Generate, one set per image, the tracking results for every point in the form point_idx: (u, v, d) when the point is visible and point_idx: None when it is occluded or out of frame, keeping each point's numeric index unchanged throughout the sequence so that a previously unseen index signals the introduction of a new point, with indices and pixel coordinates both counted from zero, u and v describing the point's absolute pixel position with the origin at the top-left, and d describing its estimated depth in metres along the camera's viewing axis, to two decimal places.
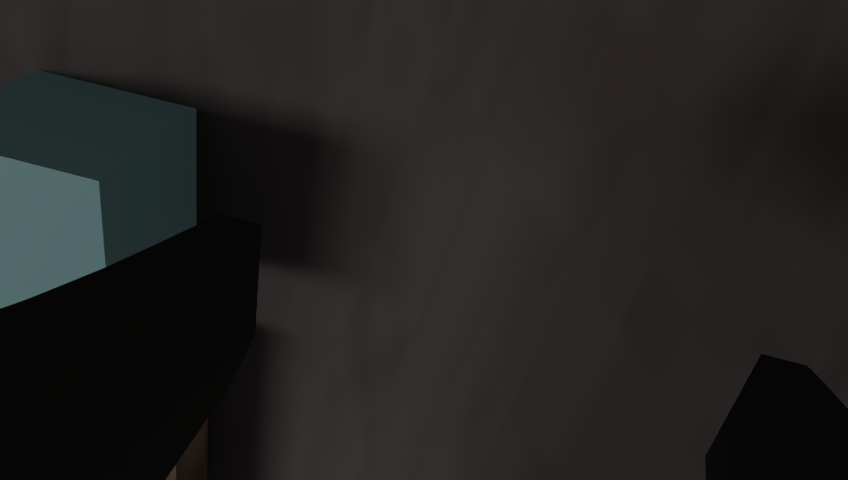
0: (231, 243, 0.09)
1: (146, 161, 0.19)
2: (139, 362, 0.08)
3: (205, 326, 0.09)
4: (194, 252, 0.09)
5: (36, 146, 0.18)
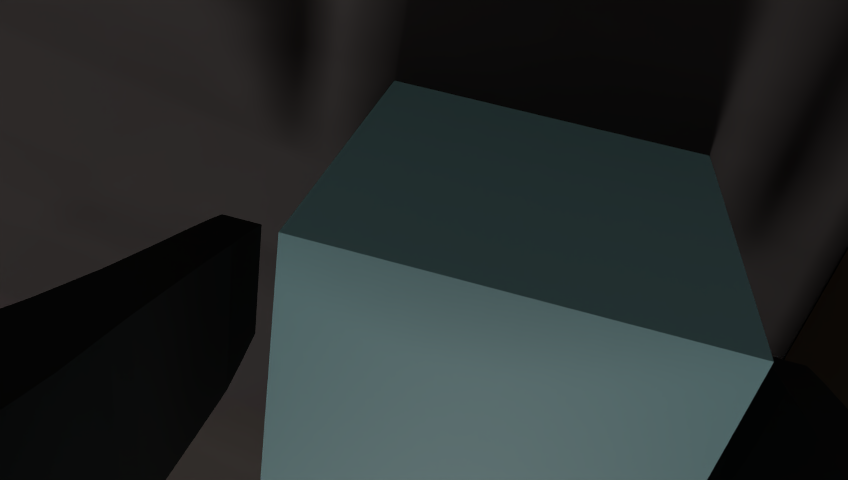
0: (231, 243, 0.09)
1: (374, 158, 0.09)
2: (139, 362, 0.08)
3: (205, 326, 0.09)
4: (194, 252, 0.09)
5: None
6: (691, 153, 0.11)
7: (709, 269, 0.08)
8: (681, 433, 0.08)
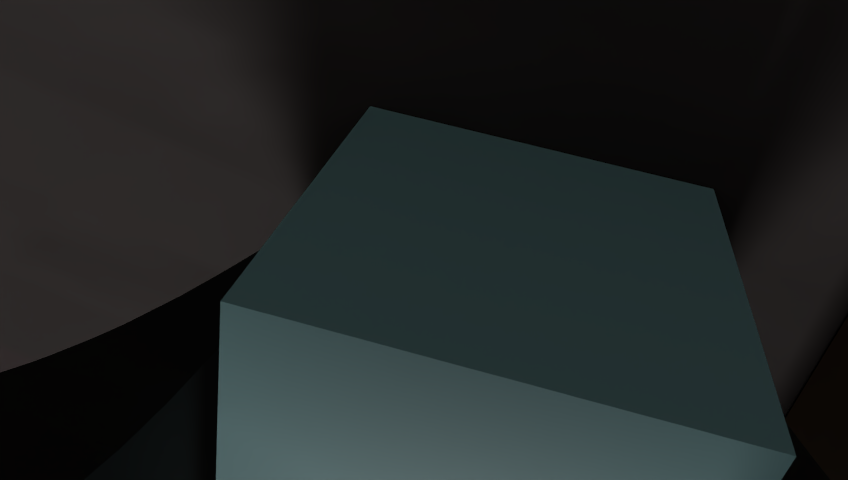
0: None
1: (340, 204, 0.08)
2: None
3: None
4: None
5: None
6: (694, 188, 0.10)
7: (717, 333, 0.07)
8: None
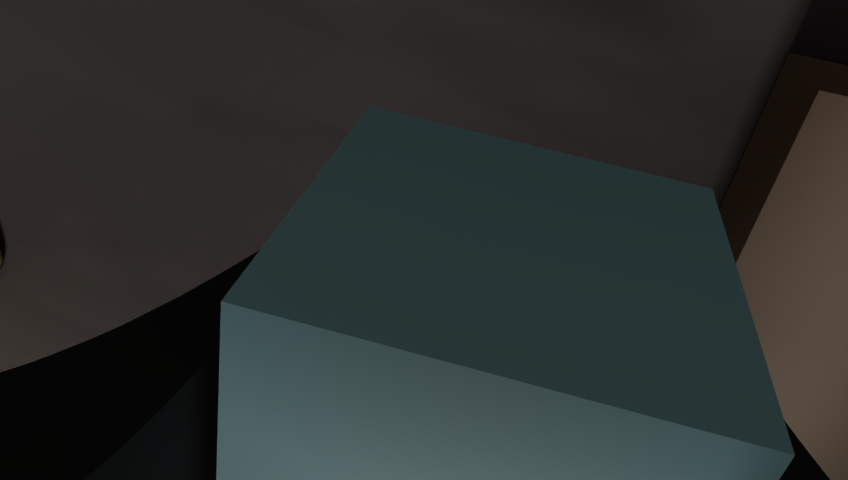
0: None
1: (339, 203, 0.08)
2: None
3: None
4: None
5: None
6: (693, 188, 0.10)
7: (716, 332, 0.07)
8: None
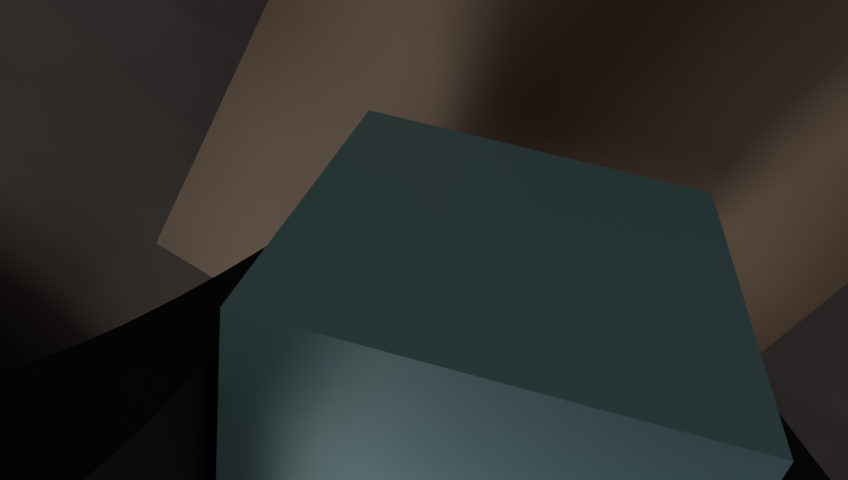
0: None
1: (339, 208, 0.08)
2: None
3: None
4: None
5: None
6: (692, 192, 0.10)
7: (716, 338, 0.07)
8: None
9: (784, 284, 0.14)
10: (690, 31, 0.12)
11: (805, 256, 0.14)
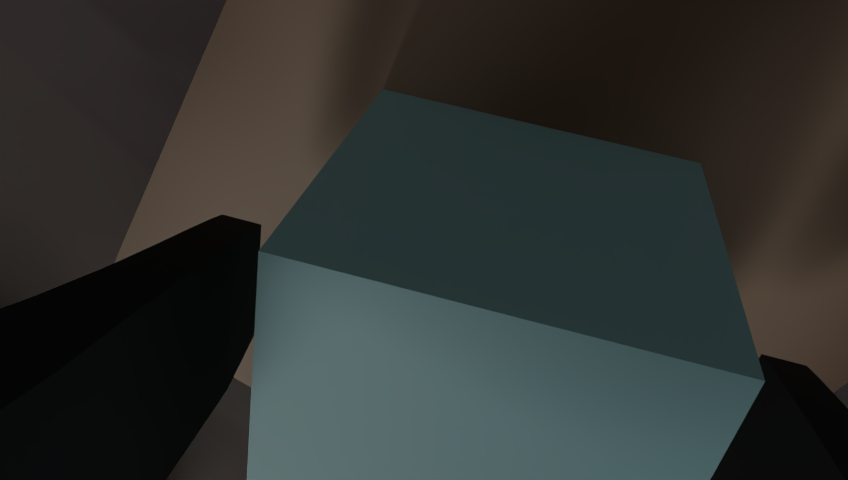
0: (231, 243, 0.09)
1: (359, 172, 0.09)
2: (139, 362, 0.08)
3: (205, 326, 0.09)
4: (194, 252, 0.09)
5: None
6: (682, 162, 0.11)
7: (699, 283, 0.08)
8: (672, 453, 0.07)
9: (810, 356, 0.12)
10: (704, 71, 0.10)
11: (835, 326, 0.12)
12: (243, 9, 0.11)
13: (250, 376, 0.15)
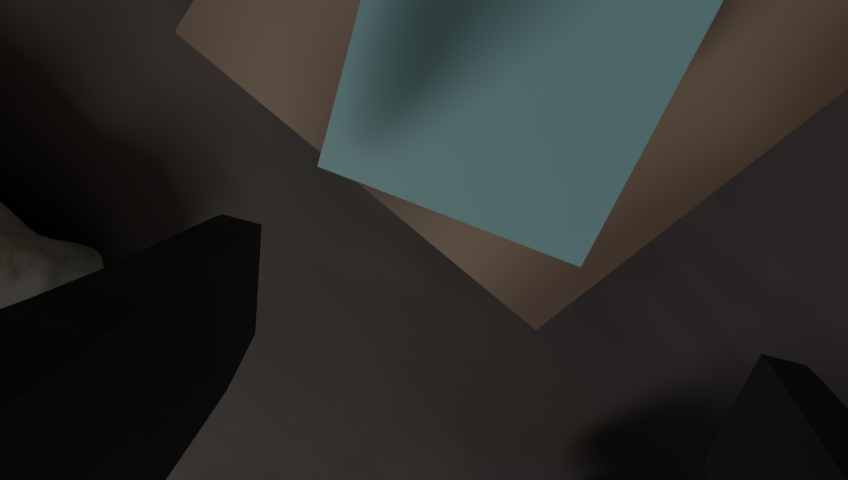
0: (231, 243, 0.09)
1: None
2: (139, 362, 0.08)
3: (205, 326, 0.09)
4: (194, 252, 0.09)
5: None
6: None
7: None
8: (657, 58, 0.11)
9: (748, 121, 0.16)
10: None
11: (770, 94, 0.16)
12: None
13: (293, 118, 0.18)
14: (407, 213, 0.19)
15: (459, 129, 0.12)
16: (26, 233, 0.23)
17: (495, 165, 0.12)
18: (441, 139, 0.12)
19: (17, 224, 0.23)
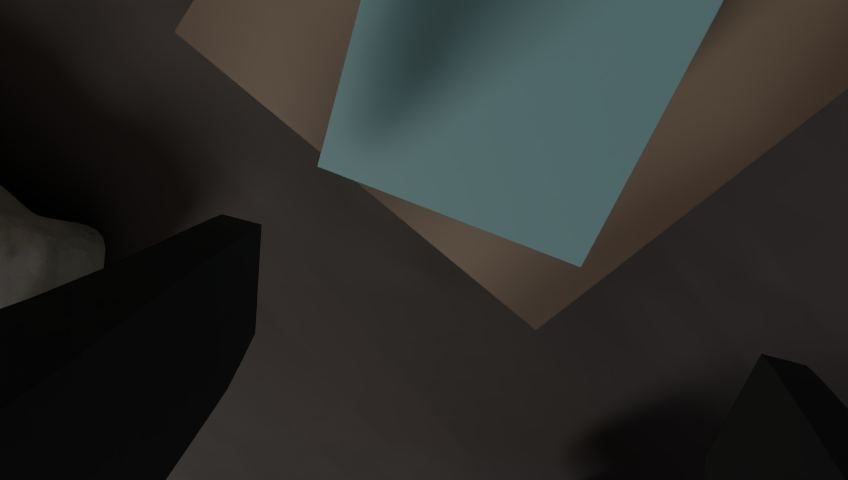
0: (231, 243, 0.09)
1: None
2: (139, 362, 0.08)
3: (205, 326, 0.09)
4: (194, 252, 0.09)
5: None
6: None
7: None
8: (657, 58, 0.11)
9: (748, 121, 0.16)
10: None
11: (770, 94, 0.16)
12: None
13: (293, 118, 0.18)
14: (407, 213, 0.19)
15: (459, 129, 0.12)
16: (24, 213, 0.22)
17: (495, 165, 0.12)
18: (441, 139, 0.12)
19: (15, 204, 0.23)
